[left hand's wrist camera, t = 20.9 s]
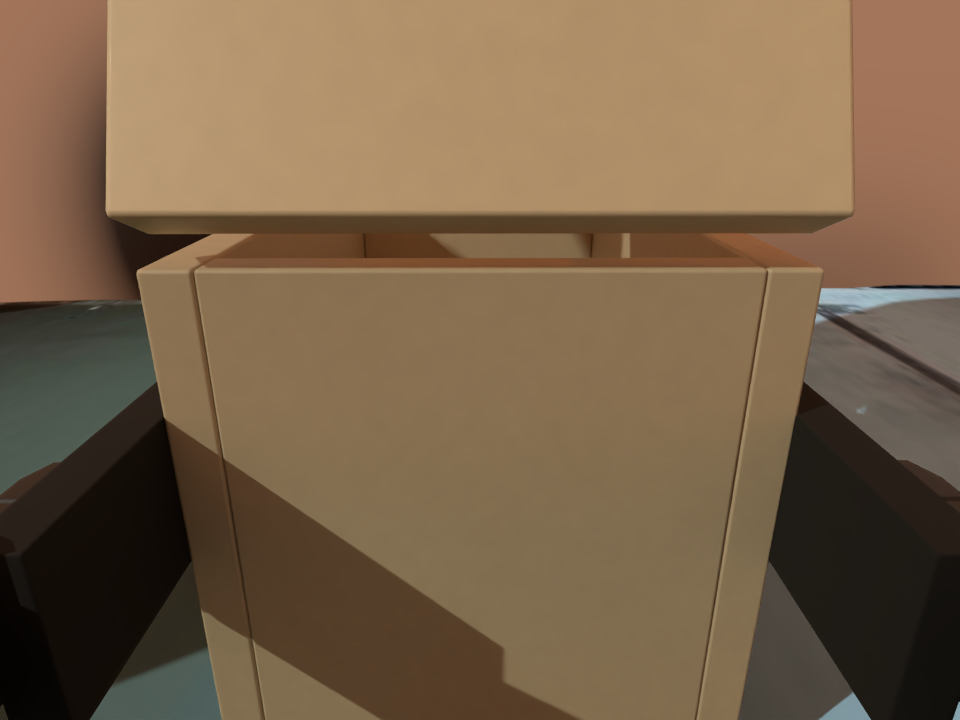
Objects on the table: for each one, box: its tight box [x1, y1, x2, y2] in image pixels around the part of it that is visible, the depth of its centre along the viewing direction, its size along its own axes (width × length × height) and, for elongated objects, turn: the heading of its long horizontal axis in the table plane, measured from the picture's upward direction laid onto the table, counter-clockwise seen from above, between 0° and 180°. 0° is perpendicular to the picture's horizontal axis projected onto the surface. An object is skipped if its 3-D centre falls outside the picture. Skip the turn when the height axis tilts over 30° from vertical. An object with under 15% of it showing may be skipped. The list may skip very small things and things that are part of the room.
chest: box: [137, 233, 824, 720], centre depth 18 cm, size 15×10×11 cm, turn 0°
